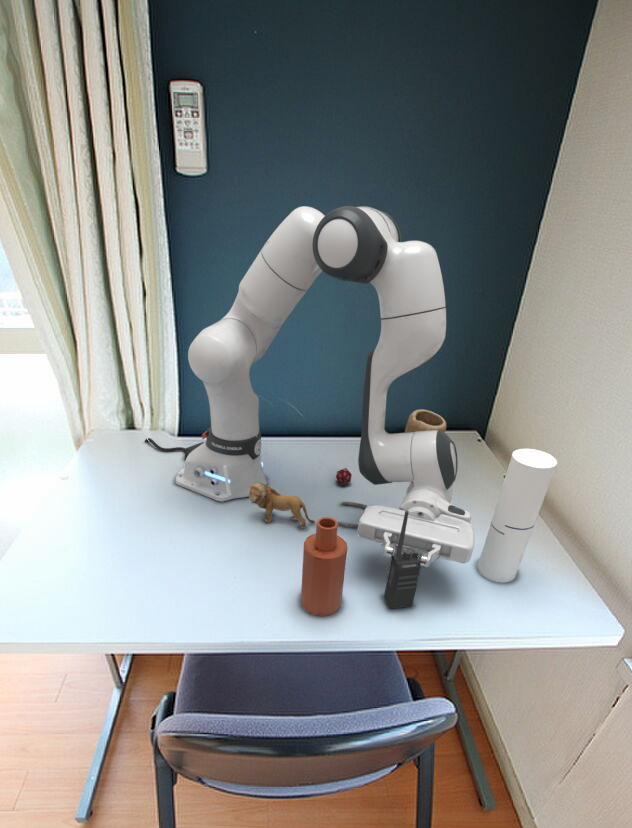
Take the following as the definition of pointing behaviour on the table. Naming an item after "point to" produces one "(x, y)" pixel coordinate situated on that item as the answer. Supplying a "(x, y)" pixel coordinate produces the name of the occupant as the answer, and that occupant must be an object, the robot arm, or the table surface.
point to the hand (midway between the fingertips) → (406, 558)
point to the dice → (343, 476)
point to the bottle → (323, 569)
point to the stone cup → (425, 421)
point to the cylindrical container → (516, 513)
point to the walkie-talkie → (402, 574)
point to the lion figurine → (277, 502)
